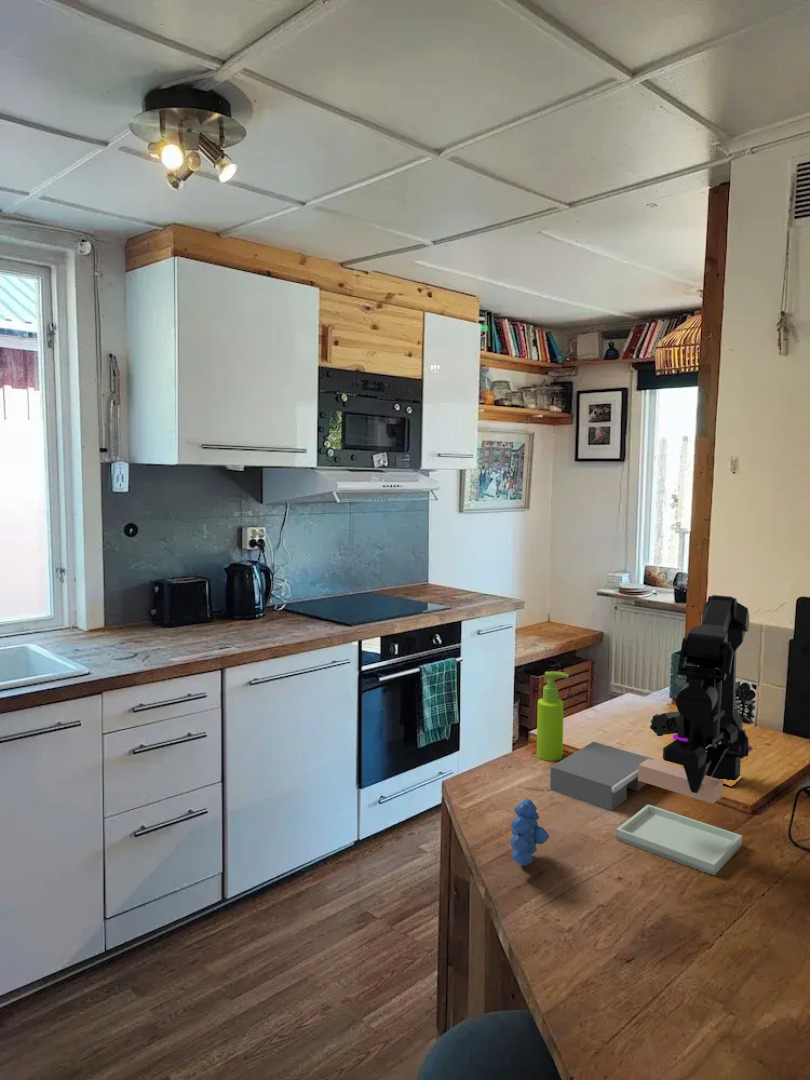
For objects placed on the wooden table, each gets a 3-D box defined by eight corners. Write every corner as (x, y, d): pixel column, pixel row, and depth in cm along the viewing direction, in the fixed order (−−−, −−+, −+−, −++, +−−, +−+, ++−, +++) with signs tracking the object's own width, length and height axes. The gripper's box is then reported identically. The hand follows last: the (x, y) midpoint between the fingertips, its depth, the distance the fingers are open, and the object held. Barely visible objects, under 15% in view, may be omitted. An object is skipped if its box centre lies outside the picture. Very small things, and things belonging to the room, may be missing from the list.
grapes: (542, 888, 129) (543, 819, 127) (502, 879, 131) (502, 812, 129) (555, 852, 139) (556, 789, 138) (518, 845, 142) (518, 783, 140)
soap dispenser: (566, 762, 177) (568, 677, 175) (536, 759, 179) (537, 675, 176) (566, 752, 183) (568, 669, 180) (537, 749, 185) (538, 668, 182)
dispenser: (655, 781, 167) (656, 759, 166) (615, 812, 154) (615, 788, 153) (593, 762, 177) (593, 741, 176) (550, 789, 164) (550, 766, 163)
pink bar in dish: (722, 796, 138) (722, 780, 138) (713, 803, 135) (713, 787, 135) (647, 773, 148) (648, 758, 147) (637, 780, 145) (638, 764, 144)
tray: (741, 845, 141) (742, 835, 141) (713, 875, 132) (714, 864, 131) (647, 813, 153) (647, 804, 153) (615, 839, 144) (616, 829, 143)
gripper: (680, 682, 149) (677, 760, 151) (635, 706, 136) (632, 791, 137) (740, 695, 142) (735, 777, 144) (699, 721, 128) (694, 811, 130)
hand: (699, 788), depth 139 cm, fingers closed on pink bar in dish, 4 cm apart
